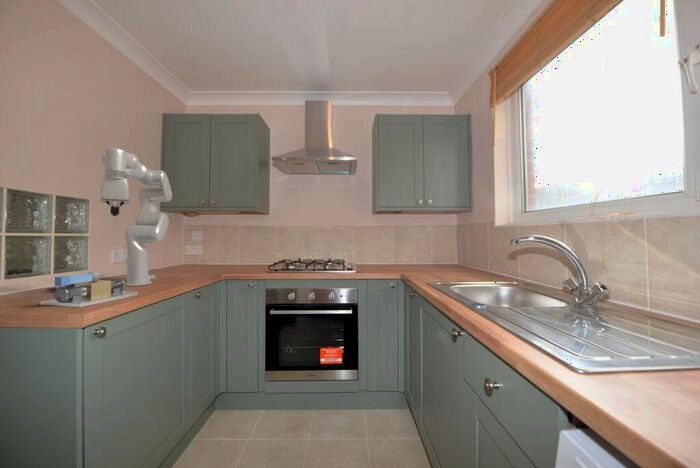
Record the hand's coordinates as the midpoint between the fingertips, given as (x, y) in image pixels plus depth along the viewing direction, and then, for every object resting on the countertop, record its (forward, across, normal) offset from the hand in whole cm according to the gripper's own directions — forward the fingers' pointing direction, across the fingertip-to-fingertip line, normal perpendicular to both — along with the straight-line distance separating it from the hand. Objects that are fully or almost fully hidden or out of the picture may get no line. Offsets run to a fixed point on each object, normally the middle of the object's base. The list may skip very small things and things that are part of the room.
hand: (114, 215), depth 137 cm
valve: (+36, +14, -11) cm, 40 cm away
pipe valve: (+35, +6, +14) cm, 38 cm away
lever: (+28, +10, +18) cm, 34 cm away
